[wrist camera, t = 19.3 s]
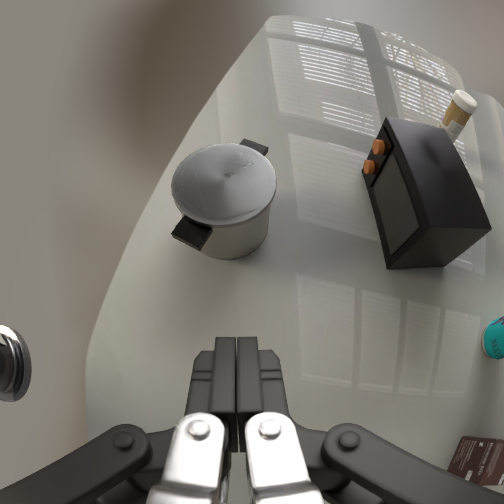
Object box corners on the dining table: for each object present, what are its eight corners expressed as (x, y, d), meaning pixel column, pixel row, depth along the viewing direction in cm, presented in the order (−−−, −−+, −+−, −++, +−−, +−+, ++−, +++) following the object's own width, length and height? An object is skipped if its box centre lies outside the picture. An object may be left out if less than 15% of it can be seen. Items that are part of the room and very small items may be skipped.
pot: (237, 291, 33) (234, 261, 25) (160, 250, 34) (139, 213, 27) (290, 197, 38) (299, 153, 30) (220, 168, 40) (216, 123, 32)
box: (461, 434, 24) (497, 437, 18) (485, 439, 23) (520, 441, 17) (443, 476, 22) (478, 486, 15) (469, 478, 21) (503, 485, 14)
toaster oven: (379, 270, 34) (422, 226, 24) (354, 169, 41) (378, 114, 31) (444, 266, 34) (492, 229, 24) (414, 175, 41) (444, 128, 31)
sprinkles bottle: (426, 135, 46) (454, 85, 34) (445, 145, 45) (475, 97, 33) (427, 150, 44) (458, 97, 32) (447, 160, 43) (480, 110, 31)
